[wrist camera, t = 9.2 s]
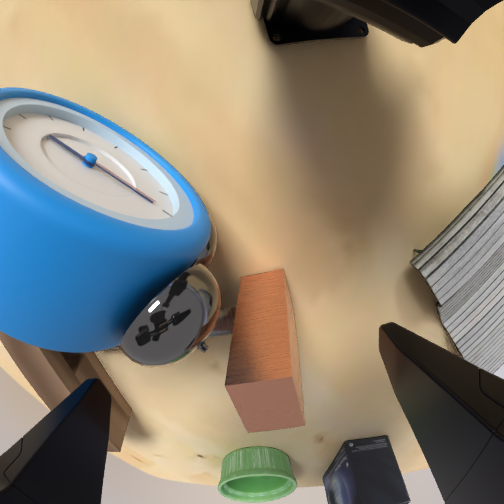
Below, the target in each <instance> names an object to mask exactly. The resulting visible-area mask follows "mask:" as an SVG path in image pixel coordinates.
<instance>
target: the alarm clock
mask: <svg viewBox="0 0 504 504" xmlns="http://www.w3.org/2000/svg"><path fill="white" fill-rule="evenodd" d="M216 246H217V231H216V227H215V224H214V221H213V219H212V218H211V216H210V215H209V213H208V212H207V210H206V207H205V205H204V203H203V201H202V200H201V198H200V197H199V195H198V194H197V192H196V191H195V190H194V188H193V187H192V186H191V185H190V184H189V182H188V181H187V180H186V179H185V178H184V177H183V176H182V175H181V174H180V173H179V172H178V171H177V170H176V169H175V168H174V167H173V166H172V165H171V164H170V163H169V162H168V161H166V160H165V159H164V158H163V157H162V156H161V155H159V154H158V153H157V152H156V151H154V150H153V149H152V148H150V147H149V146H148V145H147V144H145V143H144V142H142V141H141V140H140V139H138V138H137V137H135V136H134V135H132V134H131V133H129V132H128V131H126V130H125V129H123V128H122V127H120V126H118V125H117V124H115V123H113V122H112V121H110V120H108V119H106V118H104V117H103V116H101V115H99V114H97V113H95V112H93V111H91V110H89V109H87V108H85V107H83V106H80V105H78V104H76V103H73V102H71V101H68V100H66V99H63V98H60V97H58V96H54V95H51V94H48V93H44V92H40V91H36V90H31V89H24V88H0V331H1V332H3V333H5V334H7V335H9V336H10V337H12V338H15V339H17V340H19V341H22V342H24V343H27V344H30V345H33V346H36V347H40V348H43V349H48V350H54V351H60V352H72V353H81V352H94V351H101V350H105V349H109V348H113V347H115V346H118V345H120V346H119V348H120V350H121V351H122V353H123V354H124V355H125V356H127V357H128V358H129V359H130V360H132V361H133V362H135V363H137V364H139V365H142V366H147V367H165V366H169V365H173V364H176V363H178V362H180V361H183V360H184V359H185V358H187V357H188V356H189V355H190V354H192V353H193V352H194V351H195V350H196V349H198V350H199V349H200V350H201V351H202V352H203V353H204V352H205V351H206V350H207V349H208V346H207V345H206V344H205V342H204V340H205V339H206V338H207V337H208V336H209V334H210V333H211V331H212V330H213V329H214V327H215V325H216V322H217V320H218V317H219V312H220V307H221V295H220V290H219V286H218V283H217V281H216V279H215V277H214V276H213V274H212V273H211V272H210V271H209V270H208V269H207V268H208V266H209V265H210V263H211V261H212V259H213V257H214V254H215V251H216Z"/></svg>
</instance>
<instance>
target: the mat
mask: <svg viewBox="0 0 504 504" xmlns="http://www.w3.org/2000/svg"><path fill="white" fill-rule="evenodd" d="M413 251H415V252H417V253H419V254H418V255H417V256H416V257H415V258H414V259H413V260H412V261H411V262H410V263H411V265H412V266H414V267H415V268H416V269H417V270H418V271H419V272H420V273H421V275H422V276H423V278H424V279H425V281H426V282H427V284H428V286H429V287H430V289H431V290H432V292H433V294H434V295H435V297H436V298H437V300H438V302H437V303H436V306H437V311H438V314H439V317H440V319H441V322H442V324H443V327H444V329H445V330H446V331H447V332H448V333H449V334H450V336H451V338H452V340H453V342H454V344H455V346H456V348H457V349H458V351H459V353H460V354H461V356H462V357H463V359H465V360H467V361H468V362H470V363H472V364H474V365H476V366H478V367H479V368H482V369H484V370H486V371H488V372H490V373H492V374H493V373H494V372H495V371H496V370H497V369H498V368H499V367H500V366H501V365H502V364H504V165H503V167H502V168H501V169H500V170H499V171H498V173H497V174H496V175H495V176H494V177H493V178H492V180H491V181H490V182H489V183H488V184H487V185H486V187H485V188H484V189H483V190H482V191H481V192H480V193H479V194H478V195H477V196H476V197H475V198H474V199H473V200H472V201H471V202H470V203H469V204H468V205H467V206H466V207H465V208H464V209H463V210H462V212H461V213H460V214H459V215H458V216H457V217H456V218H455V219H454V220H453V221H452V222H451V223H450V224H449V225H448V226H447V227H446V228H445V229H444V230H443V231H442V232H441V233H440V234H439V235H438V236H437V237H436V238H435V239H434V240H433V241H432V242H431V243H430V244H429V245H427V246H426V247H425V248H424V249H423V250H413Z"/></svg>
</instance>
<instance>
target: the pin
mask: <svg viewBox="0 0 504 504" xmlns="http://www.w3.org/2000/svg"><path fill="white" fill-rule="evenodd" d="M231 334H232V340H231V347H230V354H229V361H228V367H227V374H226V381H225V387H226V389H227V391H228V393H229V396H230V398H231V400H232V402H233V404H234V406H235V408H236V410H237V412H238V414H239V416H240V418H241V420H242V422H243V424H244V426H245V428H246V430H247V431H248V433H249V432H259V431H268V430H276V429H284V428H291V427H298V426H304V425H305V419H304V408H303V396H302V386H301V375H300V365H299V355H298V346H297V336H296V327H295V318H294V312H293V308H292V304H291V299H290V295H289V291H288V286H287V282H286V278H285V274H284V269H279V270H275V271H270V272H265V273H260V274H255V275H250V276H246V277H241V281H240V287H239V294H238V301H237V307H232V308H226V309H220V312H219V317H218V320H217V322H216V325H215V327H214V329H213V330H212V331H211V333H210V334H209V336H208V337H207V338H211V337H218V336H224V335H231ZM119 346H120V345H118V346H115V347H113V348H109V349H119ZM105 350H108V349H105Z"/></svg>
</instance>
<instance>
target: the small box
mask: <svg viewBox="0 0 504 504" xmlns="http://www.w3.org/2000/svg"><path fill="white" fill-rule="evenodd" d="M323 481H324V486H325V491H326V496H327V501H328V504H408V503H409V502H410V498H409V495H408V492H407V489H406V486H405V483H404V480H403V477H402V474H401V471H400V469H399V466H398V463H397V460H396V458H395V455H394V452H393V449H392V446H391V443H390V440H389V437H388V436H381V437H374V438H367V439H358V440H350V441H345V442H344V444H343V446H342V447H341V449H340V451H339V452H338V454H337V456H336V457H335V459H334V460H333V462H332V464H331V465H330V467H329V468H328V470H327V471H326V473H325V474H324V476H323Z"/></svg>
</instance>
